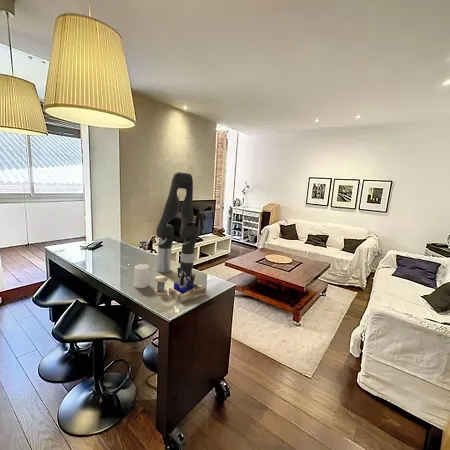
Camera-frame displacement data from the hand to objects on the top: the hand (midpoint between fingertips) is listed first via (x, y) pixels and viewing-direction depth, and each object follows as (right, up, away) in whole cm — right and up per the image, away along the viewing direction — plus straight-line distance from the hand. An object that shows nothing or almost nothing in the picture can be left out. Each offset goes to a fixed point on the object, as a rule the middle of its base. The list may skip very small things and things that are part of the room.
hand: (184, 287), depth 147 cm
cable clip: (-1, -3, 0) cm, 3 cm away
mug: (-26, 0, +4) cm, 26 cm away
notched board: (+2, -4, -1) cm, 4 cm away
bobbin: (-14, -2, -2) cm, 14 cm away
